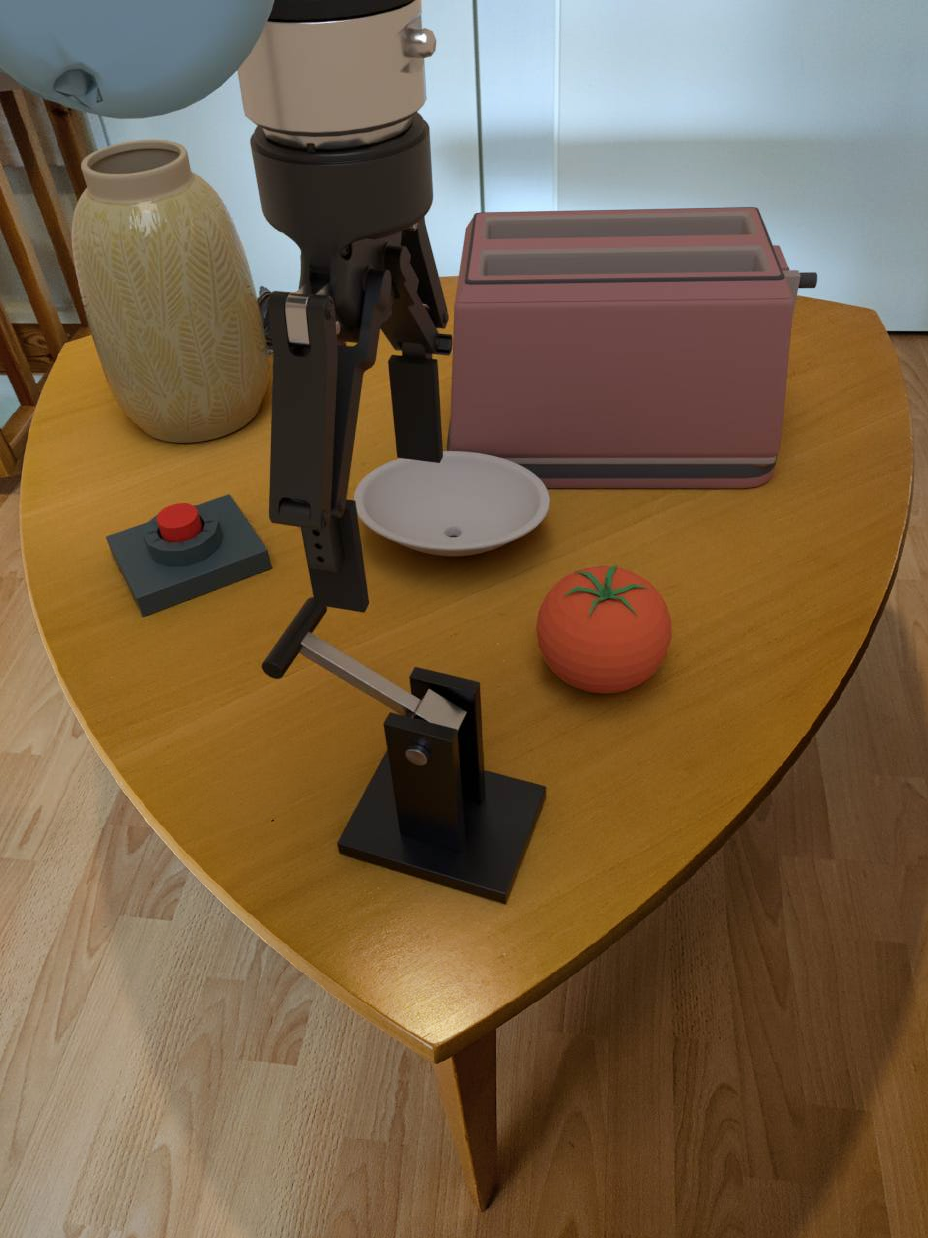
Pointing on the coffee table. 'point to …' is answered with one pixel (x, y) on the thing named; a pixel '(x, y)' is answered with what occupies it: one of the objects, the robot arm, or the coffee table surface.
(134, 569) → the control block
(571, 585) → the tomato
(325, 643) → the lever
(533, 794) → the bracket
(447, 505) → the dish
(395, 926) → the coffee table surface
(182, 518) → the button
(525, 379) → the toaster
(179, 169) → the vase
